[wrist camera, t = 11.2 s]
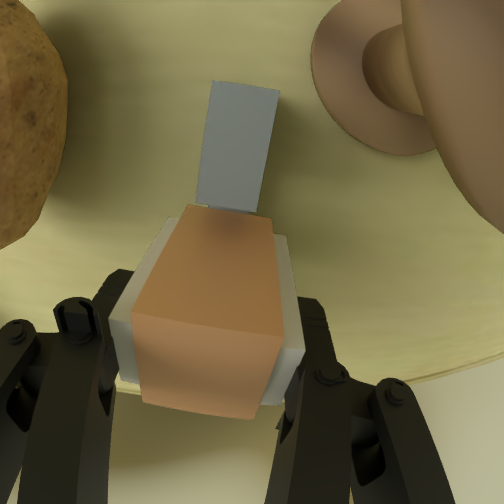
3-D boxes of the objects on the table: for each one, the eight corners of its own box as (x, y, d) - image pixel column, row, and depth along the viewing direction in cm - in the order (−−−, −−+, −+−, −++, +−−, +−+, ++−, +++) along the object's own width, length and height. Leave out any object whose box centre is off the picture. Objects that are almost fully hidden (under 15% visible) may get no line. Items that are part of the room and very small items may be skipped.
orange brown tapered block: (188, 204, 13) (130, 311, 7) (271, 218, 13) (284, 337, 7) (181, 281, 15) (143, 402, 8) (254, 293, 15) (253, 419, 9)
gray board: (229, 86, 13) (212, 80, 8) (270, 92, 13) (280, 90, 8) (199, 312, 20) (184, 384, 15) (229, 317, 20) (221, 390, 15)
